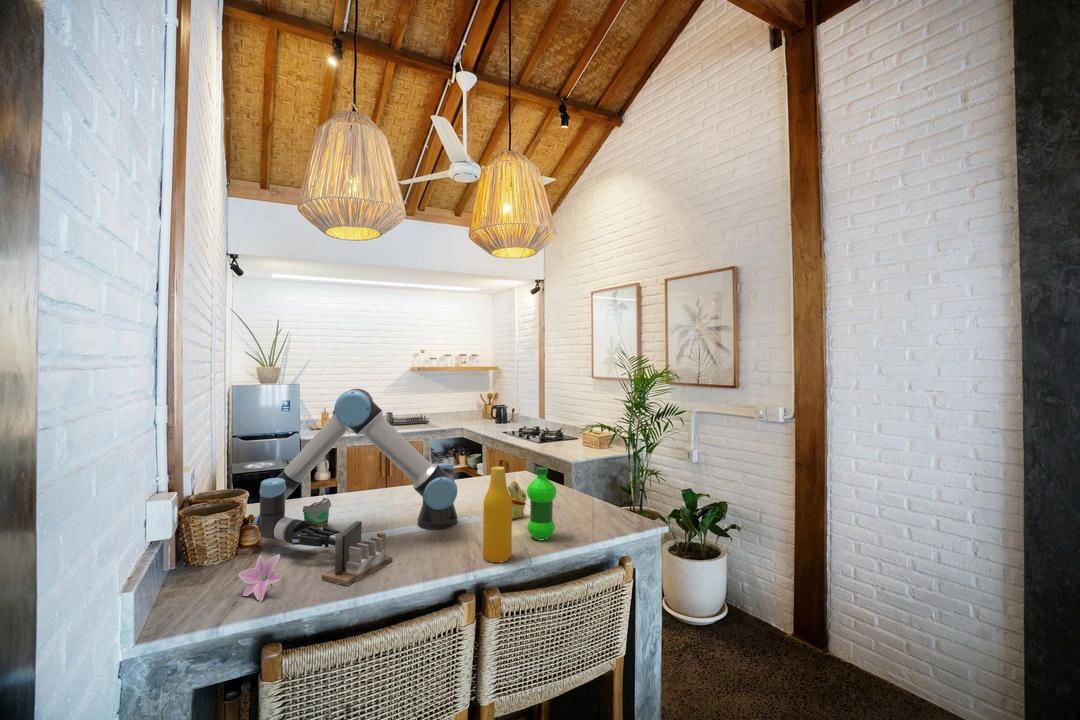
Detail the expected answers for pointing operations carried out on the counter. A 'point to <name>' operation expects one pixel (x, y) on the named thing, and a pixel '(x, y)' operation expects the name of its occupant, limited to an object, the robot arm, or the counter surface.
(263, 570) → the lily
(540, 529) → the plastic bottle
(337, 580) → the grey model on base
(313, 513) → the food container
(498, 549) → the beer bottle
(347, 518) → the counter surface
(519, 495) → the chocolate bunny
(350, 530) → the grey stone panel
